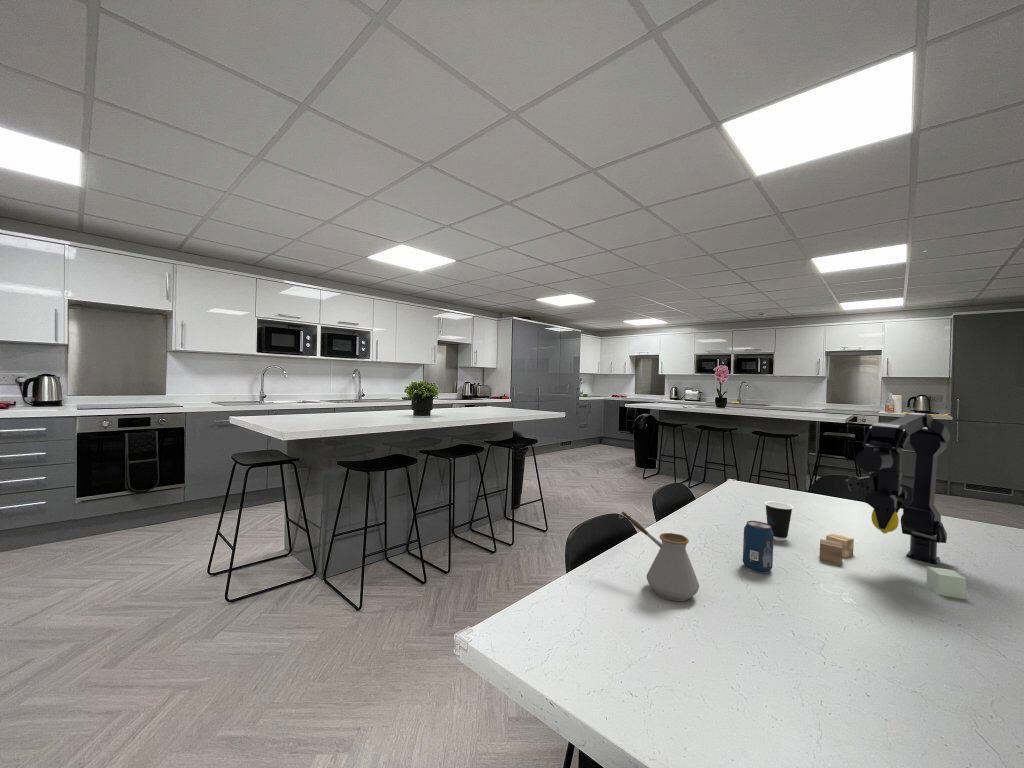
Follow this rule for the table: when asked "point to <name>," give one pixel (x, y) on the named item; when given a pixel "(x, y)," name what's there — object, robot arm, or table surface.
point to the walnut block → (831, 552)
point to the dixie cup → (778, 519)
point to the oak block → (843, 543)
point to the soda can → (758, 546)
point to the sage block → (946, 582)
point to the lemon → (891, 525)
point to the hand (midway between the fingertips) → (884, 526)
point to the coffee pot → (670, 566)
